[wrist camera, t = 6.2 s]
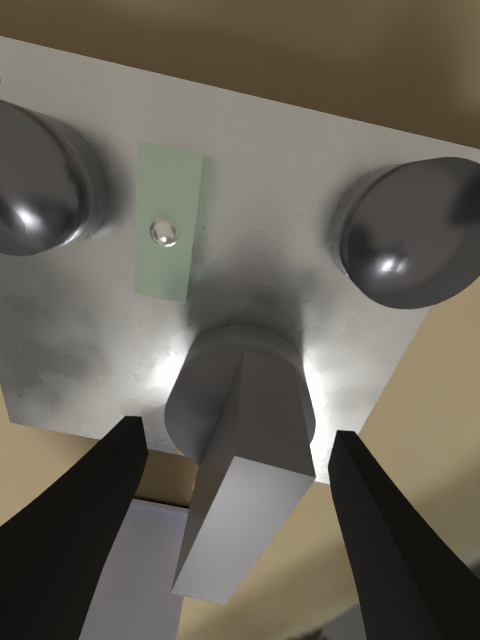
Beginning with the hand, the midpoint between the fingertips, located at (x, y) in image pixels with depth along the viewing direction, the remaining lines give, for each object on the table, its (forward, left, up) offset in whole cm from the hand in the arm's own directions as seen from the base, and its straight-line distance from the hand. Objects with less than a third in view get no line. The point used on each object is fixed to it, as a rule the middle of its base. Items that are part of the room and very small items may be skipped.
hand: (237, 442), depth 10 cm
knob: (-2, 0, -4) cm, 4 cm away
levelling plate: (+2, +3, -6) cm, 7 cm away
